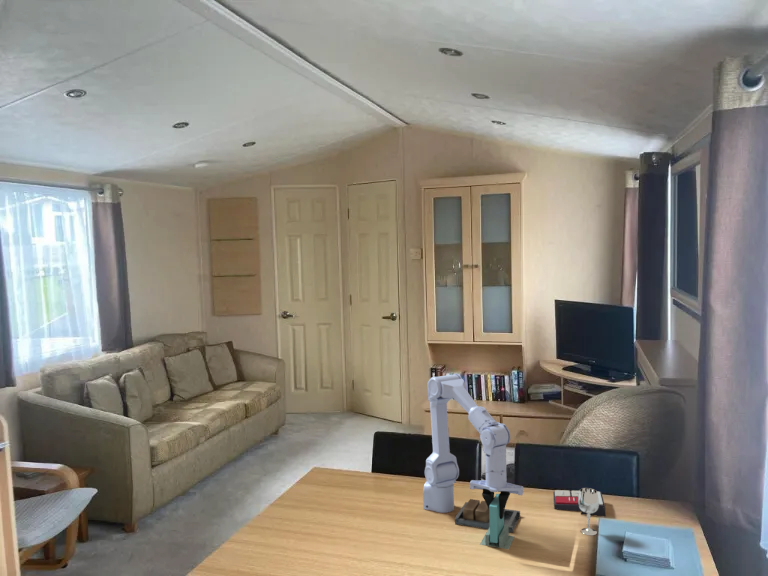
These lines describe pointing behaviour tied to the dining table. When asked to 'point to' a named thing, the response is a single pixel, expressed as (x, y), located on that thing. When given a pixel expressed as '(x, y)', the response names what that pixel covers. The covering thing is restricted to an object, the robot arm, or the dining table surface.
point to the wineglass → (588, 506)
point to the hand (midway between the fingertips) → (496, 516)
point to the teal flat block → (495, 520)
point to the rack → (509, 519)
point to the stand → (503, 539)
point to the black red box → (574, 502)
